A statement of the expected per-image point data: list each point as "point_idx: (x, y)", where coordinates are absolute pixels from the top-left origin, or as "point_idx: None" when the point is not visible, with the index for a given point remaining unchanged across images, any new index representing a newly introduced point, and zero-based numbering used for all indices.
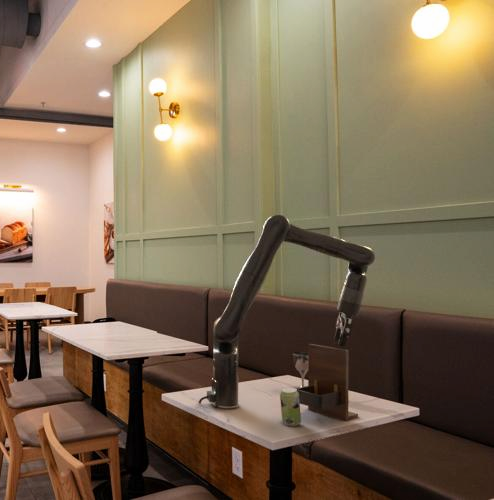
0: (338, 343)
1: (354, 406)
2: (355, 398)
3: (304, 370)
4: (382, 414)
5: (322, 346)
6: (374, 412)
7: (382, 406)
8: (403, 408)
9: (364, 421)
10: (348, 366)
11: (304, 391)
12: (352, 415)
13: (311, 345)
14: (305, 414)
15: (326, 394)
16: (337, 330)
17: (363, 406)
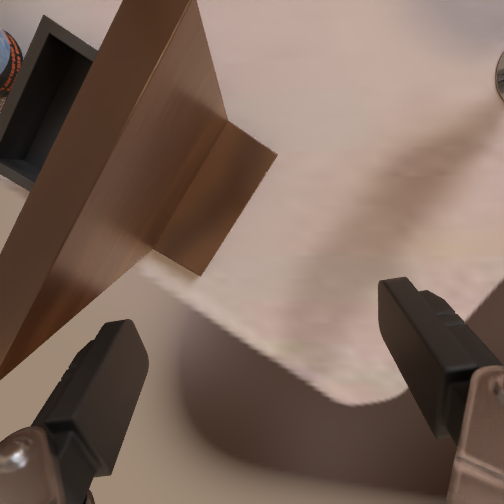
0: (117, 324)
1: (331, 264)
2: (441, 268)
3: None
4: (271, 338)
5: (60, 146)
6: (283, 318)
7: (366, 341)
8: (366, 392)
9: (167, 289)
10: (66, 322)
11: (23, 80)
12: (173, 260)
13: (123, 6)
14: None
15: (28, 185)
16: (457, 379)
17: (342, 290)
